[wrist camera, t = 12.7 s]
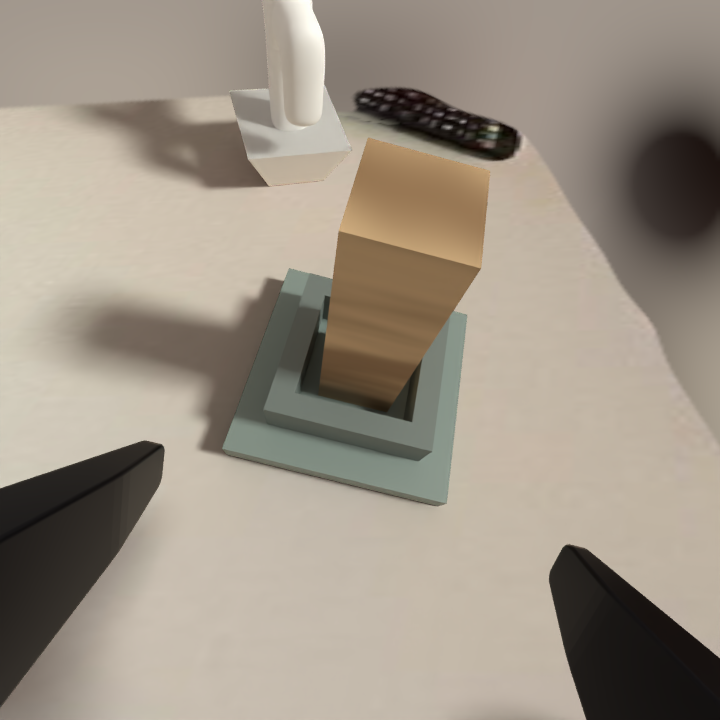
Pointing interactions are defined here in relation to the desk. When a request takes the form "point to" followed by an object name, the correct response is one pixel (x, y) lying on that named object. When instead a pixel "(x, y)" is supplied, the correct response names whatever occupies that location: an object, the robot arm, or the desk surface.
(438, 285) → the oak stick
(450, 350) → the socket holder
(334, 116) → the figurine
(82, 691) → the desk surface
